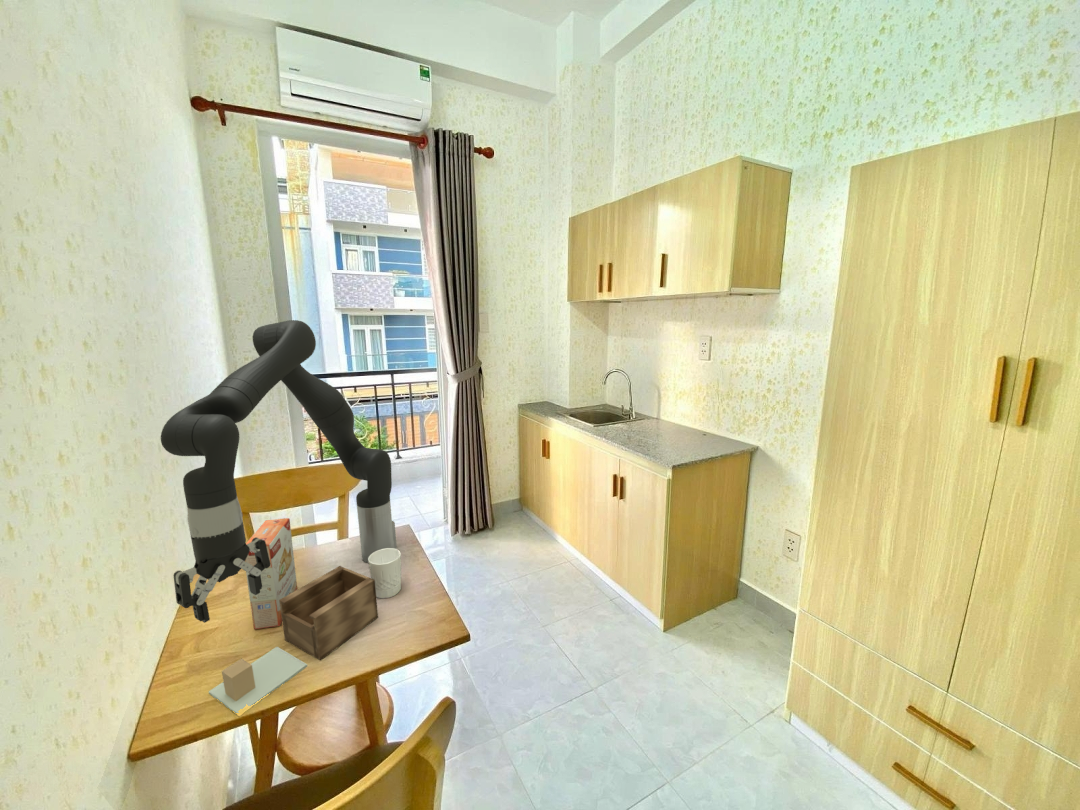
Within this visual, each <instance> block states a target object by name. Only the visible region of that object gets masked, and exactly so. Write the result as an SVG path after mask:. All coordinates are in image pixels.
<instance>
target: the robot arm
mask: <svg viewBox="0 0 1080 810" xmlns="http://www.w3.org/2000/svg"><path fill="white" fill-rule="evenodd" d="M315 336H316V335H315V333H314V332H313V330H312V328H311V327H310V326H309V325H308V324H307V323H306V322H304V321H301V320H298V319H297V320H296V319H294V320H291V319H290V320H284V321H279V322H273V323H269V324H264V325H261V326H259V327H257V328H255V330H254V331H253V334H252V344H253V346H254V349H255V351H256V353H257V354H258V357H256V358H255V359H253V360H251V361H249V362H248V363H246V364H244V365H242V366H240V367H239V368H237V369H235V370H234V371H232V373H230V374H229V375H228V376H227V377H225V378H224V379H223V380H222V381H221V382H220V383H219V384H218V385H217V386H216V387H215V388H214V389H213V390H212V391H211V392H210V393H209V394H207V395H206V396H204V397H201V398H199V399H198V400H196V401H194V402H192V403H191V404H189V405H187V406H186V407H185V406H184V408H182V409H181V410H179V411H177V412H175V413H174V415H172V416H171V417H170V418H169V419H168V420H167V421H166V422H165V424H164V426H163V427H162V429H161V432H160V443H161V445H162V447H163V449H164V450H165V451H166V452H167V453H169V454H171V455H174V456H178V457H204V458H205V462H204V466H202V467H197V468H194V469H191V470H189V471H188V472H187V473H185V474H184V476H183V479H182V483H183V486H182V487H183V492H184V498H185V502H186V507H187V508H186V509H187V523H188V528H189V529H188V530H189V534H190V539H191V545H192V549H193V555H194V559H195V563H194V566H193V567H191V568H188V569H186V570H184V571H182V570H176V571H175V572H174V573H173V584H174V591H175V592H174V594H175V600H176V604H177V605H180V606H181V607H182V608H184V609H189V608H190V607H192V610H193V614H194V618H195V619H196V620H198V621H199V622H203V623H207V622H209V621H210V620H211V618H210V614H209V613H210V612H209V607H208V604H207V603H208V602H207V601H206V599H207V598H208V596H209V594H210V592H212V591H213V590H214V588H215V586H216V585H217V583H221V582H223V581H225V580H227V578H229V577H233V576H235V575H238V574H239V572H240V571H241V570H243V571H244V572H245V573H246V572H248V573H249V575H248V581H249V588H250V592H251V593H252V594H254V595H257V594H259V593H260V590H261V589H262V582H261V572H262V571H263V570H264V569H265V568H268V567H269V566H270V560H269V556H268V551H267V547H266V542H265V541H264V540H262V539H259V538H257V537H255V538H253V540H252V542H251V543H249V544H246V543H247V542H246V541H247V540H246V538H247V537H246V532H245V528H244V527H245V526H244V522H243V521H244V520H243V512H242V508H241V504H240V502H239V498H238V495H237V488H236V483H235V482H236V480H235V478H234V477H235V470H236V469H235V468H236V462H237V456H238V455H237V454H238V450H239V444H240V431H239V427H238V425H237V423H240V422H242V421H244V420H245V419H247V418H248V416H250V414H251V412H253V410H254V409H255V408H256V407H257V406H258V404H259V403H260V402H261V401H262V400H263V398H264V397H265V396H266V395H268V393H269V392H270V391H271V390H272V389H273V388H274V387H275V386H276V385H277V384H278V383H280V381H281V383H283V384H284V385H285V387H287V389H288V390H289V391H290V392H291V393H292V395H293V396H294V397H295V398H296V400H297V401H298V402H299V404H300V405H301V406H302V407H303V409H304V411H306V413H307V415H308V416H309V418H310V419H311V421H312V422H313V423H314V424H315V426H316V427H317V428H318V429H319V430H320V432H321V433H322V434H323V436H324V437H325V438H326V440H327V442H328V443H329V444H330V445H331V447H332V449H334V451H335V453H336V454H337V456H338V457H339V459H340V461H341V463H342V465H343V466H344V468H345V470H346V472H347V473H348V474H349V475H350V476H351V477H353V478H354V479H355V480H361V481H366V484H367V485H366V486H367V487H366V489H365V488H364V489H362V490H360V491H359V492H358V493H357V494H356V496H355V502H356V510H357V520H358V521H357V523H358V531H359V543H360V552H361V560H362V561H363V562H364V563H368V564H369V562H368V558H369V556H370V555H371V554H372V553H374V552H375V551H378V550H381V549H385V548H394V549H398V548H397V545H398V544H397V535H396V534H397V533H396V522H395V521H394V520H393V518H392V508H391V507H392V506H391V492H392V486H393V485H392V481H393V480H392V462H391V457H390V455H389V453H388V452H387V451H386V450H383V449H377V448H370V447H366V446H364V444H362V443H361V442H360V440H359V439H358V437H357V436H356V433H355V431H354V427H355V425H354V424H355V416H354V413H353V410H352V408H351V406H350V405H349V403H348V402H347V400H346V399H345V397H344V395H343V394H342V393H341V392H340V391H339V390H338V389H336V388H335V387H334V386H332V385H331V384H329V383H327V382H326V381H324V380H322V379H320V378H319V377H316V376H315V375H313V374H312V373H310V372H309V371H308V370H306V369H305V368H304V367H303V365H302V363H304V362H306V361H307V360H308V359H309V358H310V357H312V355H313V354H314V352H315V350H316V346H317V343H316V337H315ZM250 550H251V551H252V552H254V553H255V558H256V562H257V564H255V565H254V566H252V565H251V564H249V563H247V562H245V560H246V558H247V556H248V554H249V552H250ZM195 575H199V577H198V578H197V580H196V582H195V584H194V585H195V587H194V589H193V591H192V590H191V583H193V581H194V577H195ZM191 591H192V592H191Z"/></svg>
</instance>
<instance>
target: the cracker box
mask: <svg viewBox="0 0 1080 810" xmlns="http://www.w3.org/2000/svg"><path fill="white" fill-rule="evenodd" d="M255 537H257V538H259V539H262V540H264V541H265V542H266V547H267V551H268V556H269V560H270V566H269V567H268V568H265V569H264V570H263V571H262V572H261V582H262V589H261V590H260V593H259V594H257V595H254V594H252V593H251V592H250V588H249V581H248V575H249V573H248V572H246V571H245V574H246V580H247V581H246V582H247V588H248V589H247V590H248V596H249V602H250V603H249V604H250V610H251V617H252V624H253V630H260V629H267V628H274V627H280V626H281V625H282V617H281V610H280V602H279V600H280V599H282V598H284V597H285V596H287V595H289V594H291V593H292V592H294V591H296V590H298V582H297V574H296V566H295V556H294V548H293V547H294V546H293V537H292V529H291V519H290V518H289V517H288V518H287V517H286V518H285V517H284V518H278V519H277V518H275V519H267V520H264V522H263V523H262V524H260V526H259V528H257V529H256V531H255V532H254V533H253V534H252V536H251V537H250V538H249V539H248V540H247V542H246V544H249V543H251V542H252V540H253V538H255ZM245 562H247V563H249V564H251V565H252V566H254V565H255V564H257V562H256V558H255V553H254V552H252V551H251V550H250V552H249V554H248V556H247V558H246V560H245Z"/></svg>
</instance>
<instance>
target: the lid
mask: <svg viewBox="0 0 1080 810" xmlns="http://www.w3.org/2000/svg"><path fill="white" fill-rule="evenodd" d="M307 667H308V664H307V663H306V662H304V661H302V660H301V659H299V658H298V657H295V656H294V655H292V654H291V653H289V652H287V651H285V650H284V649H282V648H280V647H279V646H275V647H274V648H272V649H271V650H270V651H268V652H267V653H265V654H263V655H262V656H261V657H259V658H257V659H255V661H252V662H251V663H250V662H248V661H247V660H245V659H243V658H240V659H237V660H236V661H235V662H234V663H231V665H228V666H227V667H226V668H224V669H222V670H221V675H222V682H220V683H219V684H217V686H214V687H213V688H211V689H210V690H209V691H208V694H209V695H210V696H211V697H213V698H214V699H215V698H216V699H218V700H219V701H220V702H222V703H223V704H224V705H225V706H224V705H223V704H222V703H221V704H222V705H223V706H224V707H225V708H227V709H228V708H229V709H230V710H229V709H228V710H229V711H231V710H232V711H234V712H235V713H239V712H238V711H239V710H240V709H243V708H244V707H245V706H246V704H247V705H248V706H251V705H253V704H255V703H256V702H257V701H259V700H260V699H261V698H263V697H264V696H266V695H267V694H269V693H271V692H272V691H274V690H275V689H276V690H277V688H278V689H279V688H280V687H282V686H283V685H284V684H286V683H287V682H288V681H290V680H291V679H293V677H295V676H297V675H298V674H299V673H301V672H302V671H303V670H305V669H306V668H307ZM285 682H286V683H285ZM282 684H283V685H282ZM281 685H282V686H281ZM276 690H275V691H276ZM275 691H274V692H275ZM272 693H273V692H272ZM272 693H271V694H272ZM269 695H270V694H269ZM216 699H215V700H216ZM218 700H217V701H218ZM219 701H218V702H219ZM220 702H219V703H220ZM232 711H231V712H232ZM235 713H234V714H235Z"/></svg>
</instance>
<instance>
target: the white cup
mask: <svg viewBox="0 0 1080 810" xmlns="http://www.w3.org/2000/svg"><path fill="white" fill-rule="evenodd" d="M401 555H402V553H401V551H400V550H399V549H398V548H397V549H394V548H385V549H381V550H378V551H375V552H374V553H372V554H371V555H370V556H369V558H368V562H369V563H368V567H369V573H370V574H369V575H370V578H372V579H374V580H375V589H376V598H378V599H389V598H391V597H394V596H395V595H397V594H399V592H400V591H401V589H402V556H401Z"/></svg>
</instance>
